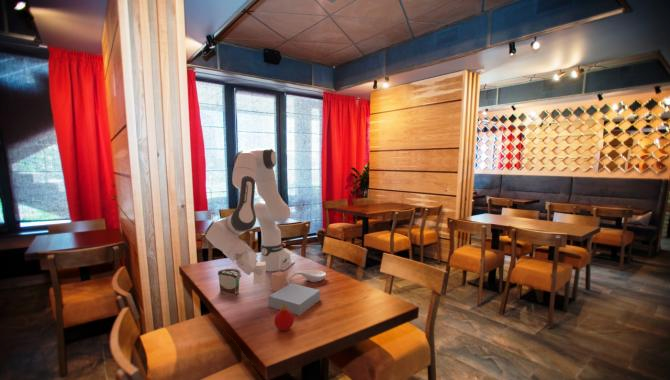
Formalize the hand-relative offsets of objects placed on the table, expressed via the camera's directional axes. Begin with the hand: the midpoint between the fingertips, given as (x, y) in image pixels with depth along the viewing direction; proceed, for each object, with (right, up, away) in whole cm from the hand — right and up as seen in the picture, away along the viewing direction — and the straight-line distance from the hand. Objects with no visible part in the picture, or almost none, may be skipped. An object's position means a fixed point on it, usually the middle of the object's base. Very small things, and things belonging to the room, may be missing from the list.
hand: (261, 271), depth 131 cm
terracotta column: (+5, -12, +13) cm, 19 cm away
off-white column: (-1, -4, 0) cm, 4 cm away
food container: (-16, -12, +10) cm, 23 cm away
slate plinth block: (+15, -14, -1) cm, 21 cm away
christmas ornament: (+14, -15, -22) cm, 30 cm away
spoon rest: (+17, -12, +22) cm, 31 cm away
